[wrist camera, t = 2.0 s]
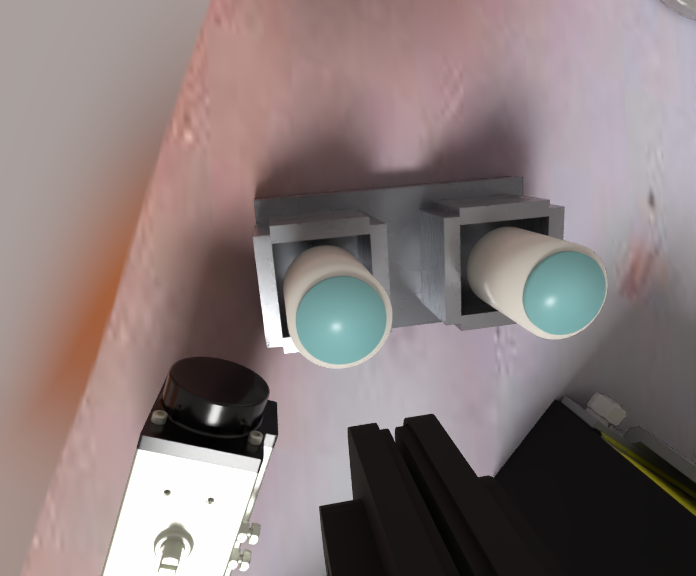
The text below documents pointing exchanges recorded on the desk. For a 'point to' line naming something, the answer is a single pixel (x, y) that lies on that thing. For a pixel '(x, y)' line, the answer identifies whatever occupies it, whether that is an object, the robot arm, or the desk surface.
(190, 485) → the pneumatic valve
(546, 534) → the electrical component
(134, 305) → the desk surface
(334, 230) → the mount
